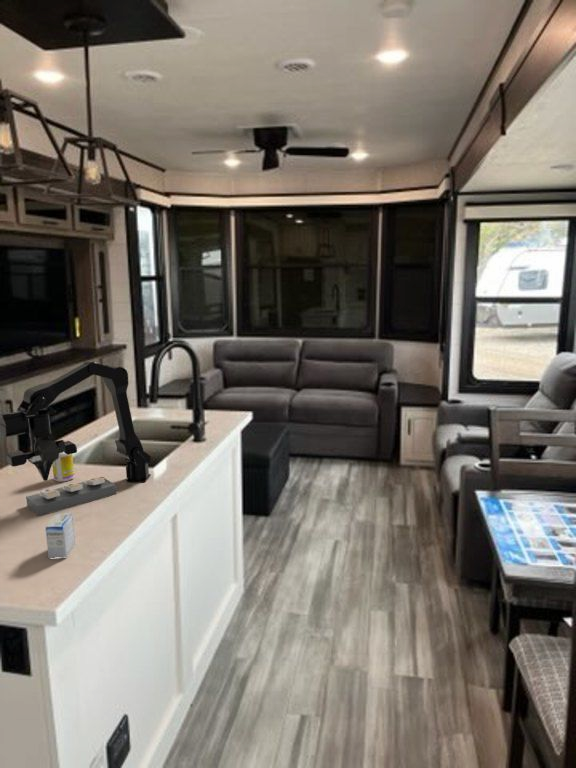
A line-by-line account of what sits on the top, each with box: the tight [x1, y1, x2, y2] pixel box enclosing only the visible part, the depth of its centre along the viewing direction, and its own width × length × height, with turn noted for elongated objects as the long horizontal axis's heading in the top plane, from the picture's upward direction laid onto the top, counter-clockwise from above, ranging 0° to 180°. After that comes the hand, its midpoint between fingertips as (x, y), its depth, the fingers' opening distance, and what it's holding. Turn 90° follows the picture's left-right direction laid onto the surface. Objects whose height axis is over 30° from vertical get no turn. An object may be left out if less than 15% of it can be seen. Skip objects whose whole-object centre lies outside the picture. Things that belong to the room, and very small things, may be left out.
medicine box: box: [45, 513, 76, 559], centre depth 143 cm, size 8×4×9 cm, turn 5°
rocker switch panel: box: [25, 476, 117, 517], centre depth 176 cm, size 24×10×4 cm, turn 131°
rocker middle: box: [63, 482, 83, 492], centre depth 175 cm, size 6×4×1 cm, turn 41°
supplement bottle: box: [51, 440, 75, 483], centre depth 194 cm, size 7×7×13 cm
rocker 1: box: [39, 487, 60, 499], centre depth 170 cm, size 6×4×1 cm, turn 41°
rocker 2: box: [85, 477, 105, 485], centre depth 179 cm, size 6×4×1 cm, turn 41°
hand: (45, 480), depth 171 cm, fingers closed
